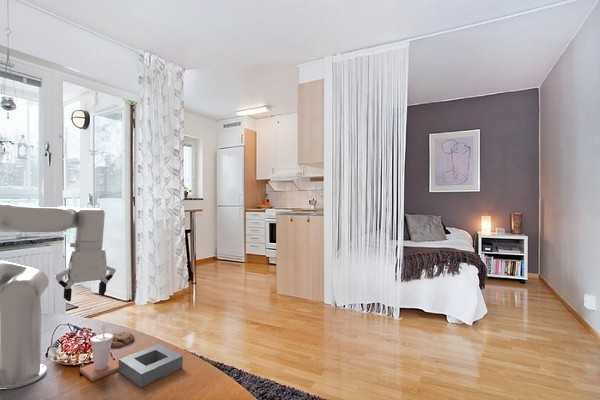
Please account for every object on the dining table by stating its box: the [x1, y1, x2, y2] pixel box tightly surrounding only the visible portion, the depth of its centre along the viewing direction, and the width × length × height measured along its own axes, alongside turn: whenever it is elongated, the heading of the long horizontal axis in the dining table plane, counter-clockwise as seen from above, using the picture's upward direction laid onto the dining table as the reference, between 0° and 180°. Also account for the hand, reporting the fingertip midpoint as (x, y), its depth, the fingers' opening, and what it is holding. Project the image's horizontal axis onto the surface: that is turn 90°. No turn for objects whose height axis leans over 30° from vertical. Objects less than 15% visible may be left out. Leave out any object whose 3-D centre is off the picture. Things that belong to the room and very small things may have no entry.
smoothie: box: [89, 323, 113, 370], centre depth 104 cm, size 6×6×14 cm
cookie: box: [111, 331, 135, 349], centre depth 124 cm, size 10×11×3 cm
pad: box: [79, 356, 119, 382], centre depth 104 cm, size 9×9×1 cm
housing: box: [117, 343, 184, 388], centre depth 105 cm, size 14×14×4 cm
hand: (85, 297), depth 106 cm, fingers open, 9 cm apart
